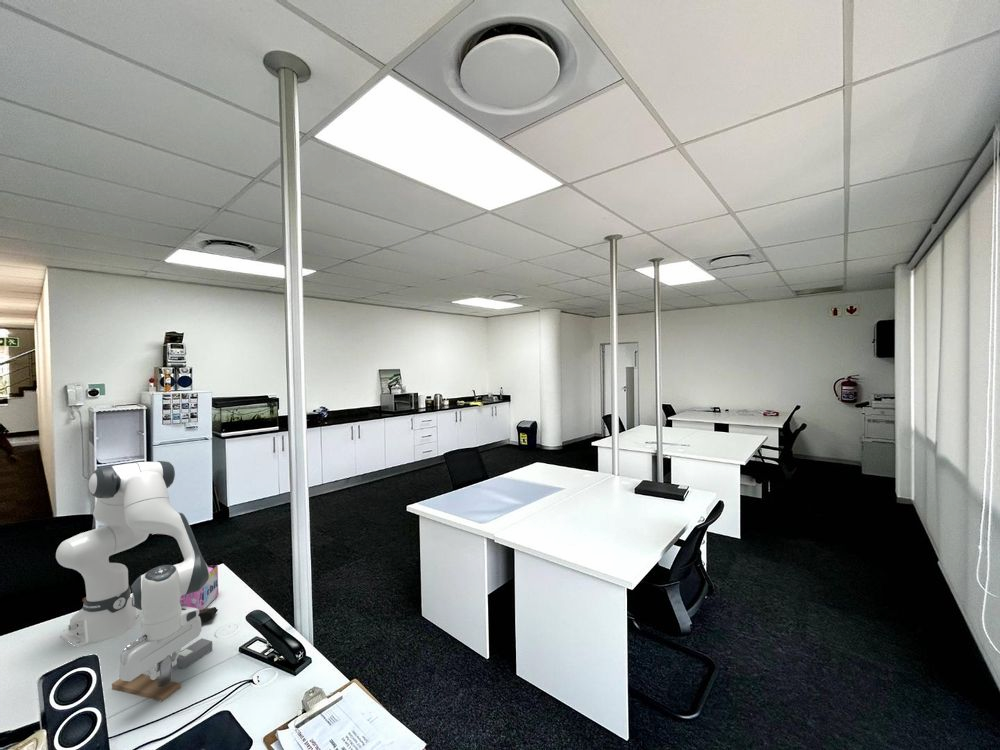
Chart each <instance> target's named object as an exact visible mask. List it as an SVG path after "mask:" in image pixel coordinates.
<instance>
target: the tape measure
mask: <svg viewBox="0 0 1000 750" xmlns="http://www.w3.org/2000/svg"><path fill="white" fill-rule="evenodd" d="M218 610H219V609H217V607H216V606H214V607H213V606H212V607H206V608H205V609H202V610H199V615H198V616H199V617H200V619H201V623H203V622H207V621H210V620H212V619H213V617H214V616H215V615H216V614H217V613H218Z"/></svg>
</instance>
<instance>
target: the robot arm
mask: <svg viewBox="0 0 1000 750" xmlns="http://www.w3.org/2000/svg"><path fill="white" fill-rule="evenodd" d="M175 476H176V472H175V467H174V465H173V464H172V463H171V462H170V461H167V460H166V461H163V460H158V461H137V462H130V463H123V464H118V465H117V464H116V465H107V466H106V465H105V466H102V467H98V468H96V469H95V470H94V471H93V472H92V473H91V475H90V477H89V480H88V488H89V492H90V494H91V496H93V497H94V498H96V501H95V504H94V509H93V512H92V514H93V518H94V519H95V521H97V522H98V523H100V524H104V525H103V526H101V527H97V528H94V529H91V530H88V531H85V532H84V531H83V532H80V533H79V534H76V535H73V536H72V537H70V538H67V539H65V540H63V541H62V542H61V543H60V544H59V545H58V547H57V549H56V552H55V559H56V561H57V563H58V564H59V565H60V566H62V567H63V568H67V569H72V570H74V571H76V572H78V573H79V574H81V576H82V578H83V580H84V585H85V594H86V596H85V597H83V598H82V601H81V602H83V606H82V608H81V609H80V610H79V611H78V612H76V613H75V614H74V615H72V617H70V620H69V624H68V627H67V628H66V629H65V630H64V631H62V632H61V633H60V634H59V637H60V638H61V639H62V638H63V639H62V640H64V639H65V640H67V641H69V642H70V643H72V644H73V645H75V646H81V647H83V646H82V645H84V646H86V645H89V644H93V643H99V642H103V641H107V640H110V639H113V638H115V637H117V636H119V635H121V634H123V633H126V632H127V631H129V630H130V629H132V628H133V627H134V625H136V622H137V621H136V620H137V619H138V618H139V617H140V614H139V612H136V609H137V610H140V611H142V612H143V613H142V618H141V637H139V638H137V639H136V640H135V641H133V642H131V643H129V644H127V645H126V646H125V647H124V648H123V650H122V652H121V653H120V654H119V666H118V678H119V679H121V680H124V681H132V680H133V679H135V678H136V677H138V676H139V675H141V674H144V673H146V672H147V673H148V674H149V676H150V679H151V680H155V679H156V678H158V677H159V676H160V670H157V666H156V664H157V663H159V662H160V661H162V660H163V659H165V658H166V657H167V656H168V655H171V669H172V668H174V667H175V665H176V664H177V658H178V656H179V653H180V651H182V649H181V648H183V647H184V646H186V645H187V644H189V643H191V642H192V641H193V640H195V639H197V638H198V637H199V636H200V634H201V633H202V622H201V619H200V617H199V616H198V615H199V609H197V608H193V607H187V606H182V607H181V605H180V597H181V595H184V594H185V595H186V594H190V593H193V592H197V591H199V590H200V589H201V588H202V587H203V586H204V585H205V584H206V582H207V581H208V579H209V569H208V566H209V565H208V564H207V562H206V561H205V559H204V556H203V555H202V553H201V550H200V548H199V545H198V543H197V540H196V538H195V535H194V533H193V530H192V527H191V526H190V523H189V521H188V518H187V517H186V515H185V514H184V513H182V512H178V511H177V510H175V509H174V508H173V507H172V504H171V503H170V498H169V496H170V495H169V491H168V488H170V487H171V486H172V485H173V483H174V480H175ZM150 534H151V535H152V534H155V535H167V536H170V537H173V538H174V539H175V540H176V542H177V544H178V547H179V548H180V552H181V554H182V557H183V561H182V562H180V563H176V564H173V565H172V564H162V565H159V566H156V567H153V568H151V569H149V570H148V571H147V572H145V573H144V574H141V575H139V576H138V577H137V578H136V579H135V580H134V582H133V583H132V585H131V586H130V585H129V569H128V567H127V566H126V565H125V564H122V563H119V562H110V560H109V559H110V557H111V556H113V555H115V554H118V553H120V552H124V551H127V550H129V549H132V548H134V547H136V546H138V545H139V544H141V543H143V542H145V541H146V540H147V539H148V537H149V535H150ZM131 592H132V597H131ZM65 640H64V641H65ZM67 641H66V642H67ZM70 643H69V644H70ZM72 644H71V645H72ZM73 645H72V646H73ZM75 646H74V647H75ZM155 668H156V669H155ZM119 679H118V680H119Z"/></svg>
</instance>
